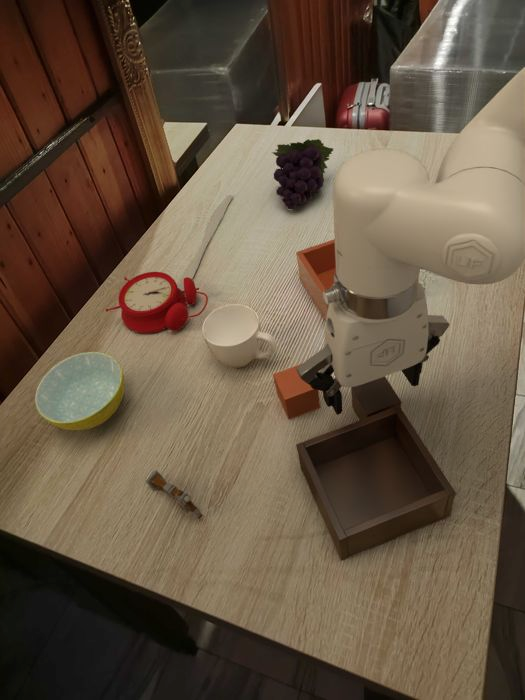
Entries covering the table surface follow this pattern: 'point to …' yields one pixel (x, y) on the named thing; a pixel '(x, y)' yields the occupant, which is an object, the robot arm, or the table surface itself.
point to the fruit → (300, 170)
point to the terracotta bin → (317, 272)
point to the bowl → (81, 391)
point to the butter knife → (205, 240)
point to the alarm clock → (156, 302)
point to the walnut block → (373, 398)
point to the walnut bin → (374, 481)
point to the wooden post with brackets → (173, 492)
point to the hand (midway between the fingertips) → (372, 390)
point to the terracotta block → (295, 393)
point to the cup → (236, 335)
